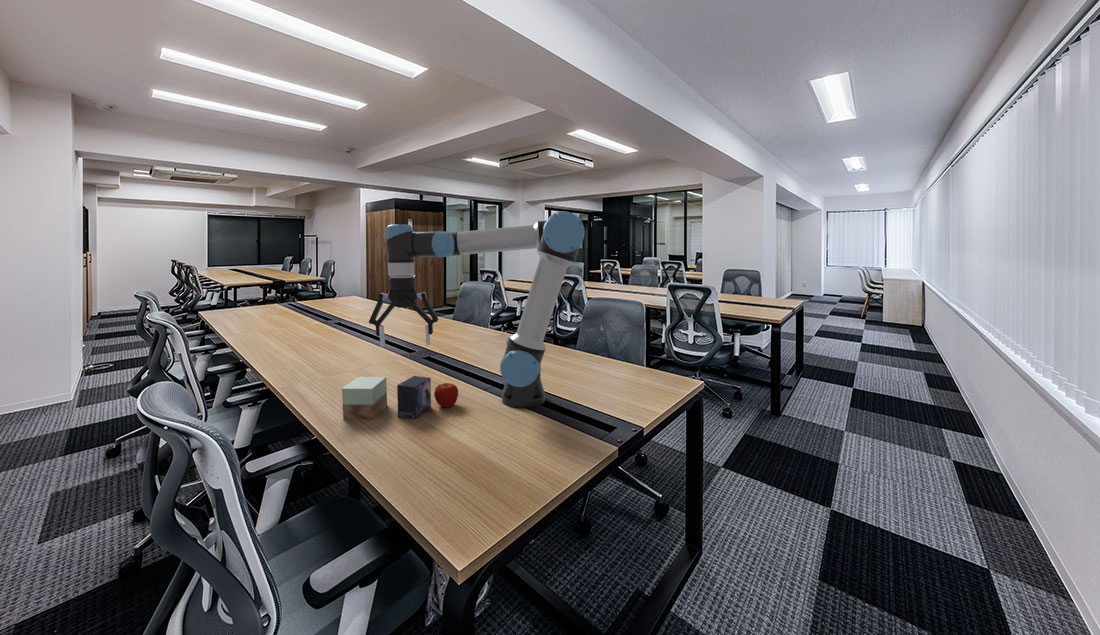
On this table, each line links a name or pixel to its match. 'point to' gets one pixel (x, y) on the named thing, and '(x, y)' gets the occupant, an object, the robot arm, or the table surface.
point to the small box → (414, 397)
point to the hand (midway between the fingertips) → (405, 345)
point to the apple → (446, 394)
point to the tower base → (364, 409)
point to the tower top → (364, 390)
